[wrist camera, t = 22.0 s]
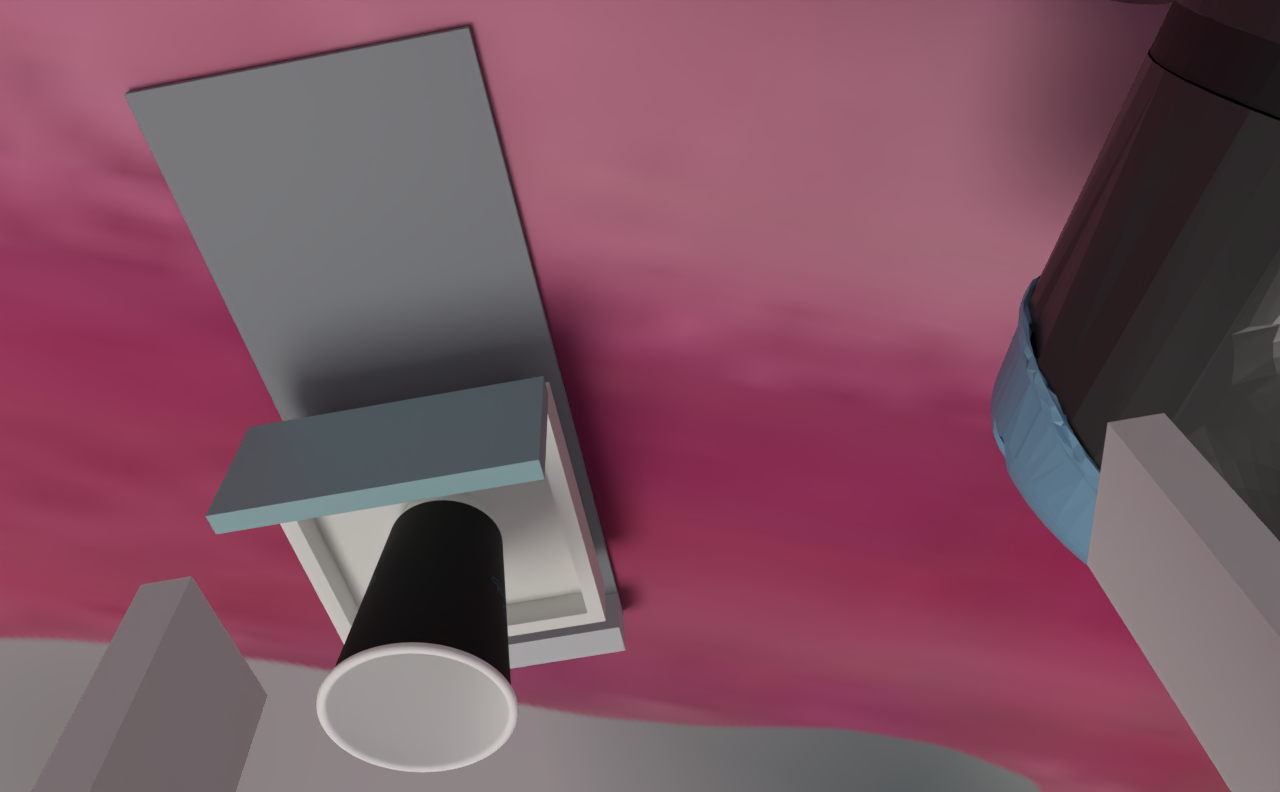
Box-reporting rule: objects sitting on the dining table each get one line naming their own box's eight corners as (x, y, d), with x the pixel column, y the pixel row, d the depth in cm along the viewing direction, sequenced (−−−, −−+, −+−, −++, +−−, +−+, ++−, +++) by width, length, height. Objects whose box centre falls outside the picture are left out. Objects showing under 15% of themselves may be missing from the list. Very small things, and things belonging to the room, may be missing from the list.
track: (469, 25, 36) (461, 45, 34) (623, 610, 55) (625, 650, 53) (127, 91, 37) (95, 115, 34) (396, 647, 56) (388, 687, 54)
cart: (545, 341, 44) (539, 459, 36) (603, 559, 52) (608, 692, 44) (267, 389, 44) (205, 516, 37) (369, 597, 53) (334, 735, 45)
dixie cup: (333, 508, 45) (271, 697, 36) (467, 439, 43) (438, 620, 34) (433, 604, 49) (400, 795, 40) (559, 544, 47) (555, 731, 38)
